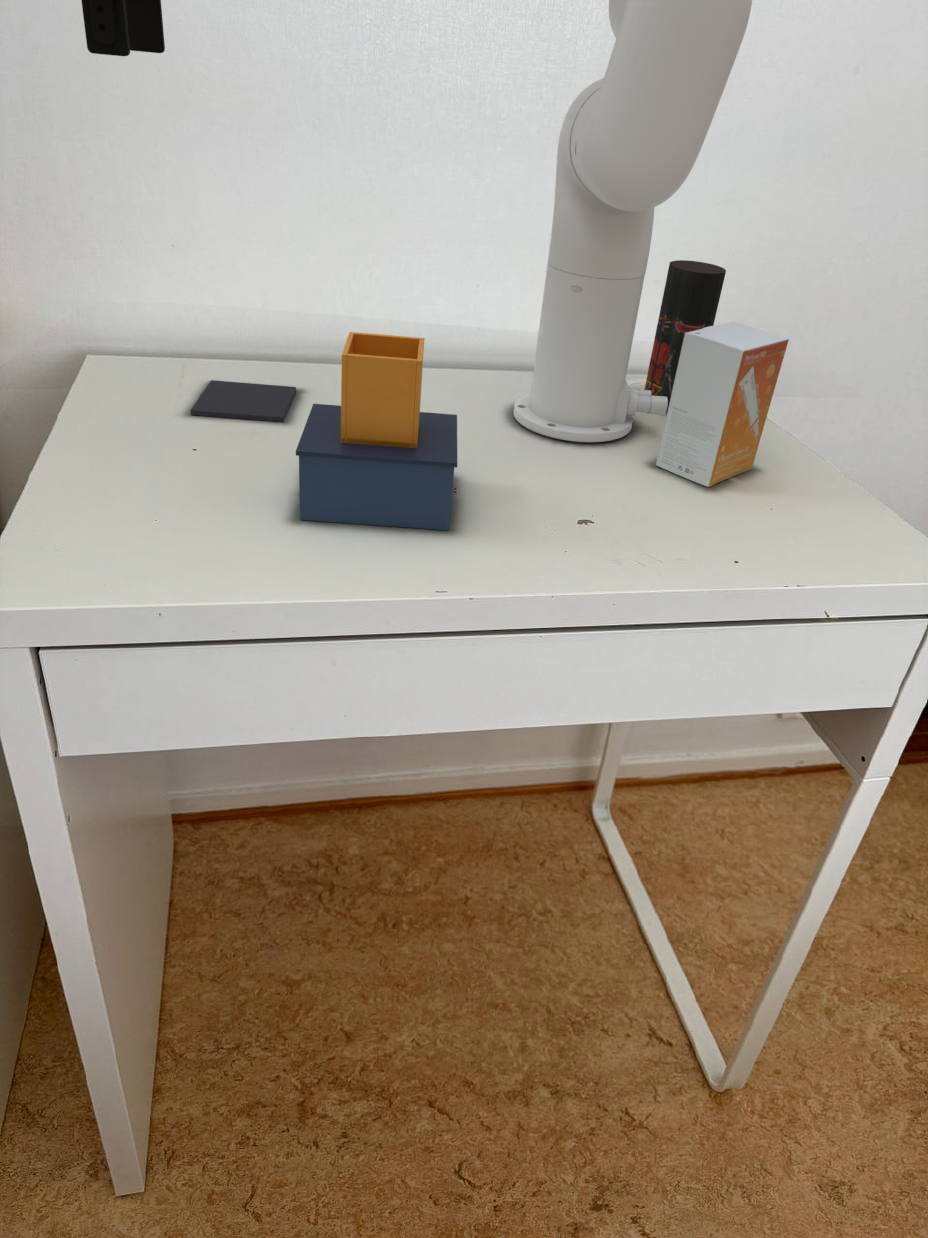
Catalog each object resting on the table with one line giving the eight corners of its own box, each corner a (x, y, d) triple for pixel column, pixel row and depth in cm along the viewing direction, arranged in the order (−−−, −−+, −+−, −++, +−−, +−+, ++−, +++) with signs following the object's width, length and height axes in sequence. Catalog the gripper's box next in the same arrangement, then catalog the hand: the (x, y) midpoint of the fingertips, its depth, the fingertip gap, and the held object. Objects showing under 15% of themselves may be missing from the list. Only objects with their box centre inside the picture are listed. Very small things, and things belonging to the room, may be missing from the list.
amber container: (419, 420, 77) (424, 337, 73) (416, 448, 72) (422, 360, 68) (348, 415, 77) (349, 331, 73) (340, 442, 72) (341, 354, 68)
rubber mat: (296, 391, 97) (296, 386, 97) (283, 422, 90) (283, 417, 90) (211, 384, 97) (210, 379, 97) (190, 414, 89) (190, 410, 89)
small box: (708, 489, 85) (744, 350, 78) (653, 465, 89) (682, 330, 81) (754, 469, 90) (791, 337, 83) (700, 448, 94) (731, 319, 86)
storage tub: (451, 478, 82) (457, 414, 79) (451, 532, 73) (457, 462, 70) (313, 467, 82) (313, 403, 78) (296, 520, 73) (295, 450, 70)
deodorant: (655, 391, 108) (683, 257, 100) (702, 404, 105) (734, 268, 97) (633, 402, 103) (660, 264, 95) (681, 417, 101) (713, 276, 93)
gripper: (113, -244, 60) (142, 60, 69) (183, -191, 75) (199, 54, 84) (-2, -256, 60) (42, 51, 69) (90, -201, 74) (117, 46, 84)
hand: (128, 52), depth 76 cm, fingers open, 9 cm apart
